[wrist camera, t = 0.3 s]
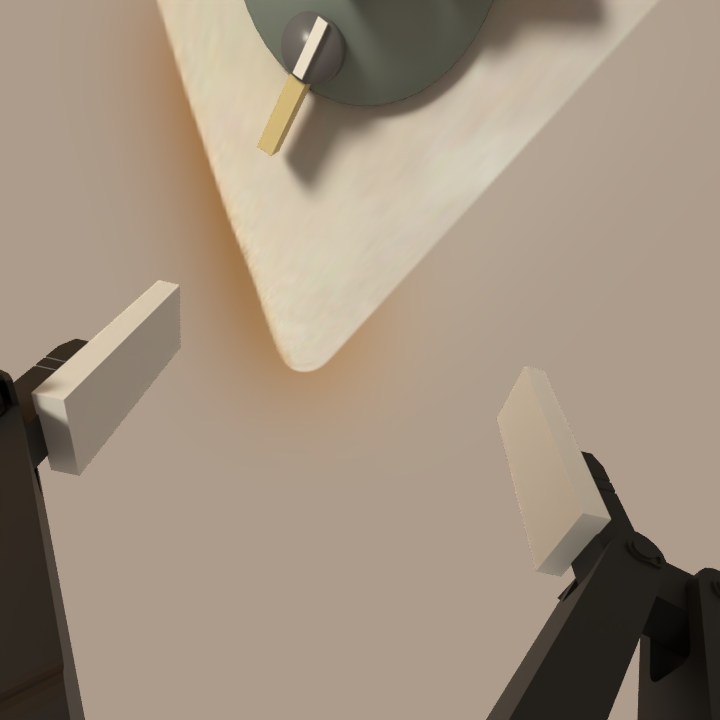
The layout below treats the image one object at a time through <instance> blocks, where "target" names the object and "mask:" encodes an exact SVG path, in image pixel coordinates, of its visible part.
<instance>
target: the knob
mask: <svg viewBox="0 0 720 720" xmlns="http://www.w3.org/2000/svg"><path fill="white" fill-rule="evenodd" d="M281 52H282V57H283V60H284V63H285V65H286V67H287V69H288V70H289V72H290V75H289V77H288V79H287V81H286V84H285V86H284V88H283V90H282V92H281V95H280V97H279V99H278V101H277V104H276V106H275V108H274V110H273V112H272V115H271V117H270V119H269V121H268V123H267V126H266V128H265V130H264V132H263V135H262V137H261V139H260V141H259V143H258V146H257V147H258V148H260V149H261V150H263V151H264V152H266V153H267V154H269V155H270V156H272V155H274V154H275V153H277V152H278V151H279V150H280V148H281V146H282V144H283V142H284V140H285V138H286V135H287V133H288V131H289V129H290V127H291V125H292V123H293V121H294V119H295V117H296V115H297V113H298V111H299V108H300V106H301V104H302V102H303V100H304V98H305V96H306V94H307V92H308V90H309V88H310V86H311V84H319V83H323V82H327V81H330V80H331V79H333V78H334V77H335V76H336V75H337V74H338V73H339V72H340V70H341V69H342V67H343V64H344V61H345V56H346V46H345V41H344V37H343V35H342V33H341V31H340V29H339V28H338V26H337V25H336V24H335V23H334V22H333V21H331V20H330V19H328V18H327V17H325V16H323V15H322V14H320V13H317V12H313V11H305V12H301V13H298V14H297V15H295V16H294V17H293V18H291V20H290V21H289V22H288V23H287V25H286V27H285V29H284V31H283V34H282V39H281Z"/></svg>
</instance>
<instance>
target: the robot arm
mask: <svg viewBox="0 0 720 720" xmlns="http://www.w3.org/2000/svg"><path fill="white" fill-rule="evenodd" d="M179 348H180V285H177V284H173V283H169V282H164V281H160V280H158V281H157V282H156V283H155V284H154V285H153V286H152V287H150V288H149V289H148V290H147V291H146V292H145V293H144V294H142V295H141V296H140V297H139V298H138V299H137V300H136V301H135V302H133V303H132V304H131V305H130V306H129V307H128V308H127V309H126V310H124V311H123V312H122V313H121V314H120V315H119V316H118V317H116V318H115V319H114V320H113V321H112V322H111V323H110V324H109V325H107V326H106V327H105V328H104V329H103V330H102V331H101V332H99V333H98V334H97V335H96V336H95V337H94V338H93V339H92V340H90V341H84V340H80V339H74V340H72V341H69V342H67V343H64V344H62V345H60V346H58V347H57V348H55V349H54V350H53V351H52V352H50V353H49V354H48V355H47V356H46V358H43V359H42V360H41V361H39V362H38V363H37V364H36V366H35V367H32V368H31V369H30V370H28V371H27V372H26V373H25V374H24V375H22V376H21V377H20V378H19V379H17V380H16V381H15V382H14V383H13V380H12V378H11V377H10V375H9V374H8V373H6V372H4V371H2V370H0V720H85V717H84V712H83V707H82V701H81V696H80V691H79V685H78V680H77V675H76V669H75V664H74V658H73V654H72V648H71V642H70V637H69V632H68V626H67V621H66V615H65V611H64V605H63V600H62V595H61V589H60V583H59V578H58V572H57V567H56V562H55V556H54V551H53V546H52V540H51V535H50V529H49V524H48V519H47V514H46V509H45V503H44V497H43V492H42V487H41V481H40V476H39V471H38V468H37V466H38V465H39V464H40V463H41V462H42V461H43V460H44V459H45V457H46V456H48V459H49V463H50V467H51V470H55V471H59V472H64V473H69V474H74V475H80V474H81V473H82V472H83V470H84V469H85V468H86V466H87V465H88V464H89V463H90V461H91V460H92V459H93V458H94V456H95V455H96V454H97V453H98V451H99V450H100V449H101V447H102V446H103V445H104V444H105V442H106V441H107V439H108V438H109V437H110V436H111V435H112V434H113V432H114V431H115V429H116V428H117V427H118V426H119V425H120V423H121V422H122V421H123V419H124V418H125V417H126V416H127V414H128V413H129V412H130V411H131V409H132V408H133V407H134V406H135V404H136V403H137V402H138V401H139V399H140V398H141V397H142V395H143V394H144V393H145V391H146V390H147V389H148V388H149V387H150V385H151V384H152V383H153V381H154V380H155V379H156V378H157V376H158V375H159V374H160V373H161V371H162V370H163V369H164V367H165V366H166V365H167V364H168V362H169V361H170V360H171V359H172V357H173V356H174V355H175V354H176V352H177V351H178V350H179ZM497 422H498V426H499V430H500V434H501V437H502V441H503V445H504V449H505V453H506V457H507V461H508V464H509V469H510V473H511V476H512V480H513V484H514V488H515V492H516V496H517V500H518V503H519V507H520V511H521V515H522V519H523V523H524V527H525V531H526V535H527V539H528V543H529V546H530V550H531V554H532V558H533V562H534V566H535V570H536V571H537V572H542V573H546V574H551V575H556V576H562V575H563V574H564V573H565V571H566V570H567V569H568V568H569V567H570V566H571V565H572V568H573V571H574V574H575V577H576V578H575V579H574V581H573V582H572V583H571V584H570V585H569V586H568V587H567V588H566V589H565V590H564V591H563V592H562V594H561V595H560V596H559V597H558V599H560V602H559V603H558V604H557V606H556V608H555V609H554V611H553V613H552V614H551V616H550V618H549V619H548V621H547V622H546V624H545V626H544V627H543V629H542V630H541V632H540V634H539V635H538V637H537V639H536V640H535V642H534V643H533V645H532V646H531V648H530V650H529V651H528V653H527V655H526V656H525V658H524V659H523V661H522V663H521V664H520V666H519V668H518V669H517V671H516V672H515V674H514V676H513V677H512V679H511V680H510V682H509V684H508V685H507V687H506V688H505V690H504V692H503V693H502V695H501V697H500V698H499V700H498V701H497V703H496V705H495V706H494V708H493V709H492V711H491V713H490V714H489V716H488V718H487V719H486V720H607V719H608V717H609V714H610V711H611V709H612V707H613V704H614V701H615V699H616V696H617V694H618V691H619V689H620V686H621V684H622V681H623V679H624V676H625V674H626V671H627V668H628V666H629V664H630V661H631V659H632V656H633V654H634V651H635V649H636V646H637V644H638V641H639V638H640V662H639V692H638V720H720V571H718V570H716V569H713V568H704V569H702V570H700V571H699V572H698V573H697V574H695V575H694V576H693V575H691V574H689V573H687V572H685V571H683V570H681V569H679V568H677V567H675V566H673V565H671V564H669V563H667V562H666V560H665V558H664V556H663V554H662V553H661V551H660V550H659V549H658V548H657V546H656V545H655V544H654V543H653V542H651V541H650V540H649V539H648V538H647V537H645V536H643V535H641V534H640V533H638V532H635V531H634V529H633V527H632V525H631V523H630V521H629V519H628V517H627V515H626V512H625V510H624V509H623V506H622V504H621V502H620V500H619V498H618V496H617V494H615V490H614V488H613V486H612V484H611V483H610V482H609V481H610V480H609V478H608V476H607V474H606V472H605V469H604V467H603V466H602V465H601V464H600V463H599V462H598V460H597V459H596V458H595V457H594V456H593V455H592V454H591V453H586V452H581V451H580V449H579V447H578V445H577V442H576V440H575V438H574V436H573V433H572V431H571V429H570V427H569V425H568V422H567V420H566V418H565V416H564V414H563V411H562V409H561V407H560V404H559V402H558V400H557V398H556V396H555V394H554V391H553V389H552V387H551V385H550V382H549V380H548V378H547V376H546V373H545V371H544V370H540V369H536V368H531V367H527V366H525V367H524V368H523V370H522V372H521V374H520V376H519V378H518V380H517V382H516V384H515V385H514V387H513V389H512V391H511V393H510V395H509V397H508V399H507V401H506V402H505V404H504V406H503V408H502V410H501V412H500V414H499V416H498V418H497Z"/></svg>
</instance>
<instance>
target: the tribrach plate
mask: <svg viewBox="0 0 720 720" xmlns="http://www.w3.org/2000/svg"><path fill="white" fill-rule="evenodd" d="M244 1H245V4H246V6H247V9H248V12H249V14H250V16H251V18H252V20H253V23H254V25H255V27H256V29H257V31H258V32H259V34H260V36H261V38H262V39H263V41H264V43H265V44H266V46H267V47H268V49H269V50H270V51H271V53H272V54H273V55H274V57H275V58H276V59H277V61H278V62H279V63H280V64H281V65H282V66H283V67H284V68H285V69H286V70H287V71H288V72H289V70H288V69H287V67H286V65H285V63H284V60H283V57H282V52H281V39H282V34H283V31H284V29H285V27H286V25H287V23H288V22H289V21H290V20H291V18H293V17H294V16H295V15H297V14H298V13H301V12H305V11H313V12H317V13H320V14H322V15H323V16H325V17H327V18H328V19H330V20H331V21H333V22H334V23H335V24H336V25H337V26H338V28H339V29H340V31H341V33H342V35H343V37H344V41H345V46H346V56H345V61H344V64H343V67H342V69H341V70H340V72H339V73H338V74H337V75H336V76H335V77H334V78H333V79H331V80H330V81H327V82H323V83H319V84H311V86H310V88H309V89H311V90H313V91H314V92H316V93H318V94H320V95H322V96H324V97H327V98H329V99H331V100H334V101H338V102H341V103H345V104H351V105H359V106H374V105H382V104H388V103H393V102H396V101H399V100H402V99H405V98H408V97H410V96H412V95H414V94H416V93H418V92H420V91H422V90H423V89H425V88H426V87H428V86H429V85H431V84H432V83H434V82H435V81H436V80H438V79H439V78H440V77H441V76H442V75H443V74H444V73H446V72H447V71H448V70H449V69H450V68H451V67H452V66H453V65H454V64H455V62H456V61H457V60H458V59H459V58H460V57H461V56H462V55H463V53H464V52H465V50H466V49H467V48H468V46H469V45H470V43H471V42H472V41H473V39H474V38H475V36H476V34H477V32H478V31H479V29H480V27H481V25H482V24H483V22H484V20H485V18H486V15H487V13H488V11H489V8H490V6H491V4H492V2H493V0H244ZM289 73H290V72H289Z"/></svg>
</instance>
